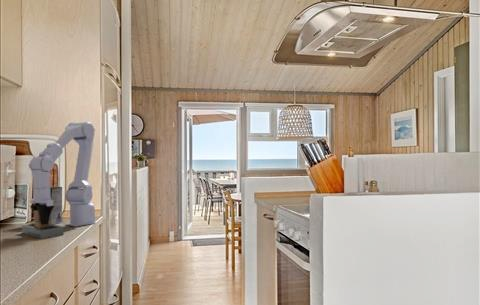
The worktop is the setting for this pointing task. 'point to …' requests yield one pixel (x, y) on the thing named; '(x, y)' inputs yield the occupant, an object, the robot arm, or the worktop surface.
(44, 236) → the grey shallow tray
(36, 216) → the walnut peg
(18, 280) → the worktop surface
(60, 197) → the coffee box
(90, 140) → the robot arm
